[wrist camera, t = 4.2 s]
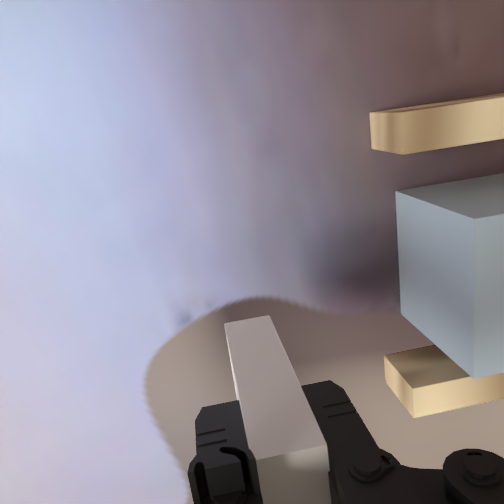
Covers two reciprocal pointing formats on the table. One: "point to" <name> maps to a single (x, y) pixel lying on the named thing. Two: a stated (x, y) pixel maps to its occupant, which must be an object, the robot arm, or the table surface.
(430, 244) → the block
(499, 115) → the channel
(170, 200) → the table surface
